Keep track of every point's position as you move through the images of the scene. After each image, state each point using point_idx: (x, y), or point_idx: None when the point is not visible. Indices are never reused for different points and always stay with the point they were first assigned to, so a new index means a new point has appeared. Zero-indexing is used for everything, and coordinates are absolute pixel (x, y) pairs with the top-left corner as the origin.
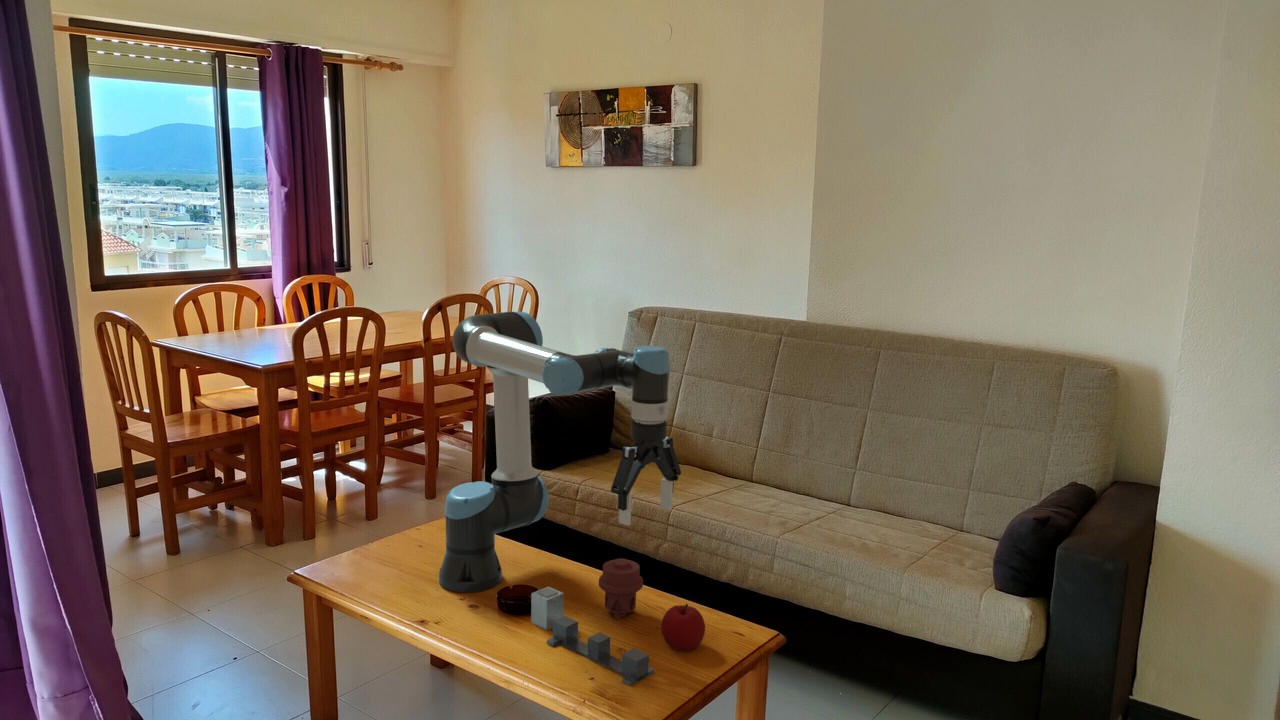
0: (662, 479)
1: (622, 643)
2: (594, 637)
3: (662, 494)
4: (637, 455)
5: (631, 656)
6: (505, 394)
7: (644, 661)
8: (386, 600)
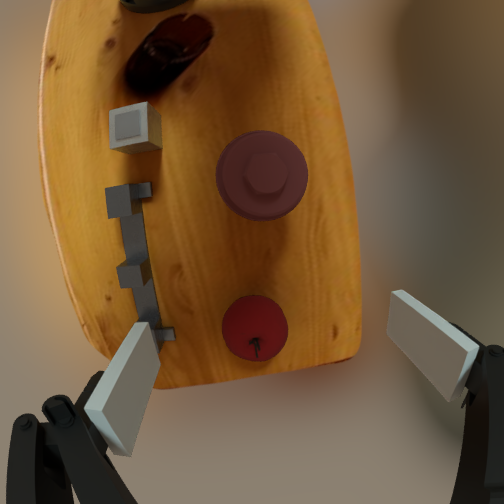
0: (464, 360)
1: (190, 257)
2: (124, 272)
3: (420, 326)
4: None
5: None
6: None
7: None
8: (65, 5)
